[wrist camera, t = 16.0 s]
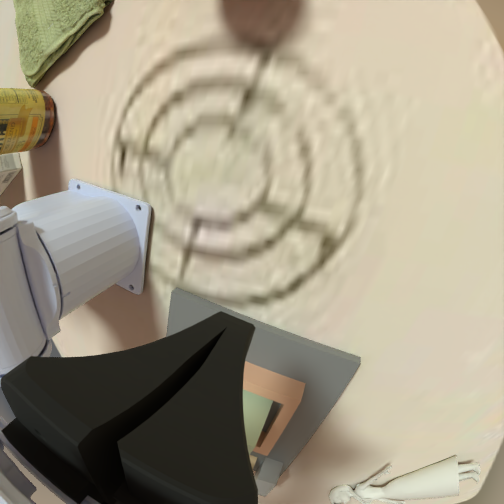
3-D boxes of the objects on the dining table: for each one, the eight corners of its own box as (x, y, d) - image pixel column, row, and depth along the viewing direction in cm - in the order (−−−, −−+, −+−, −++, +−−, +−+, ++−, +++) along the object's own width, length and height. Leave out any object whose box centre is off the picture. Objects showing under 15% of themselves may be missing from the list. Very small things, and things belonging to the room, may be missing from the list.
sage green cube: (207, 400, 26) (178, 446, 21) (220, 366, 24) (188, 416, 19) (256, 422, 25) (235, 472, 20) (276, 392, 23) (254, 447, 18)
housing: (162, 424, 32) (147, 445, 28) (176, 287, 24) (149, 309, 20) (279, 473, 29) (271, 498, 25) (360, 357, 21) (359, 392, 17)
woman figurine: (477, 503, 18) (338, 525, 26) (476, 475, 22) (345, 498, 30) (484, 462, 16) (308, 491, 24) (479, 427, 20) (318, 459, 28)
